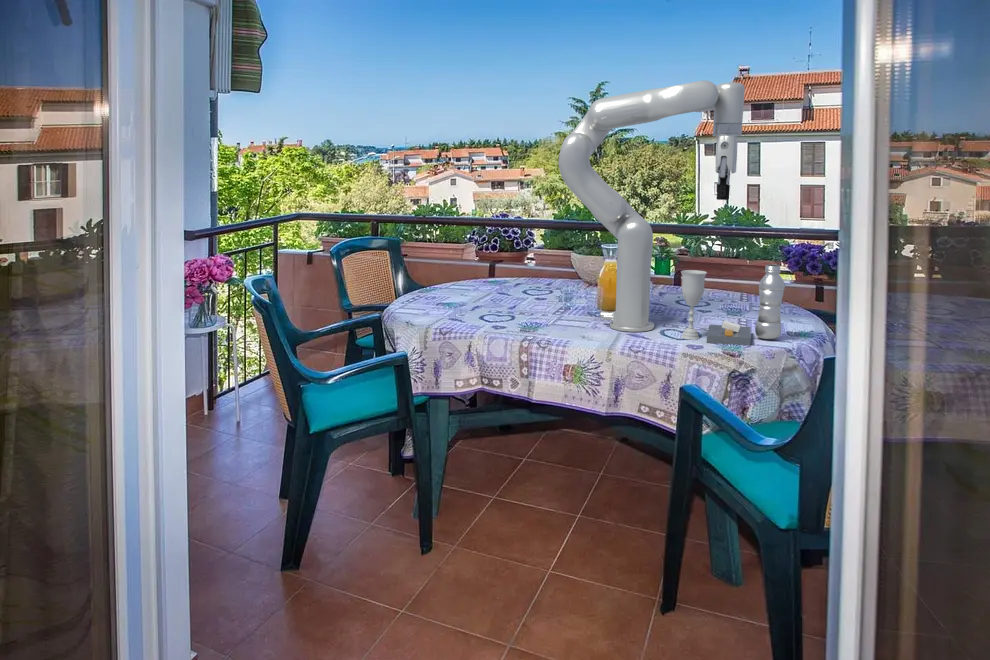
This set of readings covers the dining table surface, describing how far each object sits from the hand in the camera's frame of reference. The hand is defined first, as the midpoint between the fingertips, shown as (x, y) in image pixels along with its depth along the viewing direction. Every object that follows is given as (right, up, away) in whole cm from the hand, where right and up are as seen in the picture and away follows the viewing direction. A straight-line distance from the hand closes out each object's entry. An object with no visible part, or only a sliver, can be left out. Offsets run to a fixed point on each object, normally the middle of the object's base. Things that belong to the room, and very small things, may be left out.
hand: (722, 199), depth 210 cm
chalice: (-9, -38, -2) cm, 39 cm away
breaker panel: (+1, -38, -3) cm, 38 cm away
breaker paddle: (+1, -36, -4) cm, 36 cm away
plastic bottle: (+11, -39, -4) cm, 40 cm away
